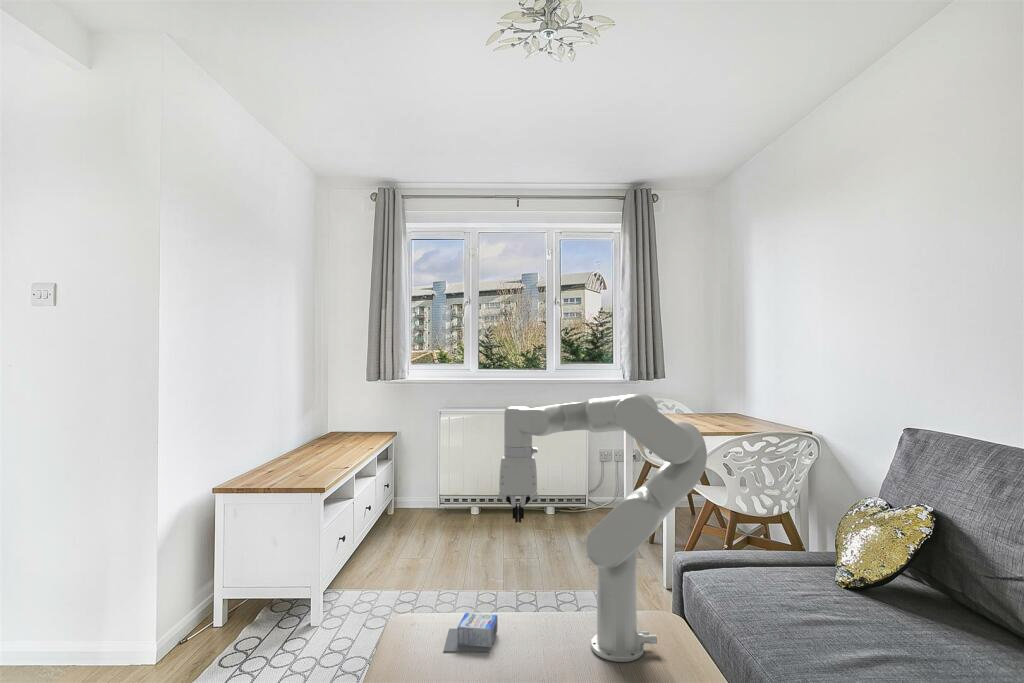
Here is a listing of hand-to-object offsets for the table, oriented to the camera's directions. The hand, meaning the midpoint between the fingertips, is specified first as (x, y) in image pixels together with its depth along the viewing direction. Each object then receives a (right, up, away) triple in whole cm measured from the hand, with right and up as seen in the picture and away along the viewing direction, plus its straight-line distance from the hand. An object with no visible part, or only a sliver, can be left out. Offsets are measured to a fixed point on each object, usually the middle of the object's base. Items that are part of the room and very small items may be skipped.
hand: (518, 521), depth 143 cm
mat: (-13, -27, -10) cm, 31 cm away
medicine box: (-6, -24, -10) cm, 27 cm away
